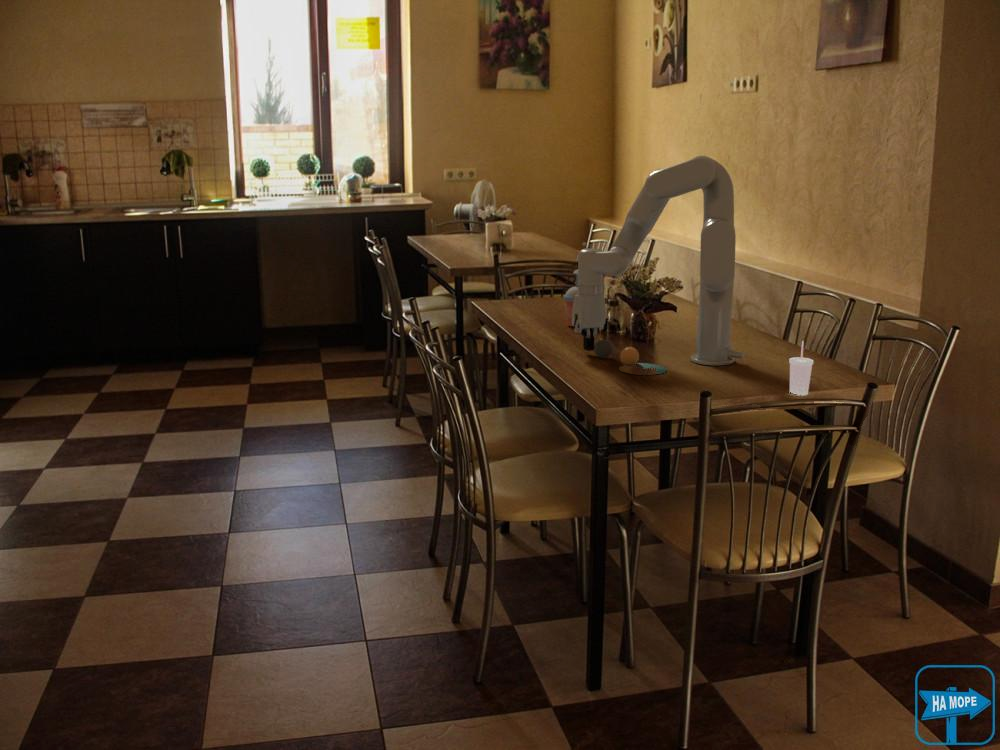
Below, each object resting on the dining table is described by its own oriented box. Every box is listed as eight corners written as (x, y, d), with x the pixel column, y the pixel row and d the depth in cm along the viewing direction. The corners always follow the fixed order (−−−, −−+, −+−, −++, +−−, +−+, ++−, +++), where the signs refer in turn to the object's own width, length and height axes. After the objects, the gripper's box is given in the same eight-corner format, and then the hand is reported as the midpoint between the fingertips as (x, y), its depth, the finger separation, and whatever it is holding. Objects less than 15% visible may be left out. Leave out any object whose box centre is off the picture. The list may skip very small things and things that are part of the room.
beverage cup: (809, 397, 252) (814, 344, 248) (785, 394, 254) (789, 342, 250) (811, 391, 257) (816, 339, 254) (787, 389, 259) (791, 337, 256)
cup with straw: (587, 329, 333) (588, 276, 329) (561, 328, 335) (562, 276, 331) (590, 323, 342) (591, 273, 338) (564, 322, 344) (565, 272, 339)
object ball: (632, 349, 287) (642, 364, 285) (616, 357, 286) (625, 372, 284) (633, 340, 282) (642, 355, 280) (616, 348, 282) (625, 363, 279)
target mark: (672, 366, 282) (673, 366, 282) (658, 377, 270) (658, 377, 270) (626, 361, 288) (626, 361, 288) (610, 372, 276) (611, 371, 276)
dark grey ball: (610, 338, 295) (612, 356, 295) (592, 340, 295) (594, 358, 295) (612, 339, 289) (614, 357, 290) (593, 341, 289) (596, 360, 290)
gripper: (601, 286, 299) (599, 344, 304) (562, 290, 291) (561, 350, 296) (617, 289, 293) (615, 349, 298) (578, 294, 285) (577, 355, 290)
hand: (588, 349), depth 297 cm, fingers closed
